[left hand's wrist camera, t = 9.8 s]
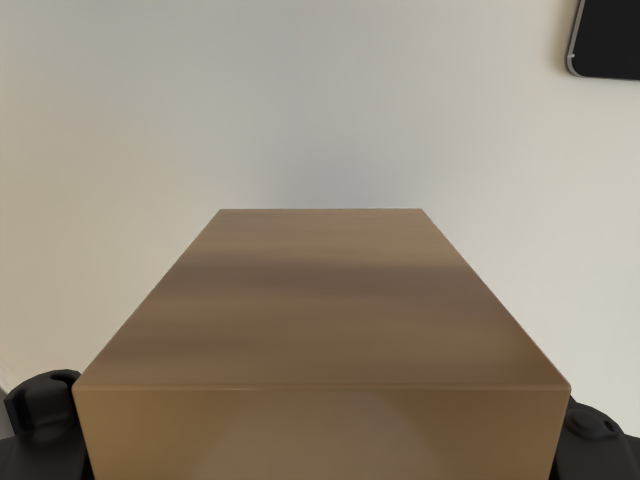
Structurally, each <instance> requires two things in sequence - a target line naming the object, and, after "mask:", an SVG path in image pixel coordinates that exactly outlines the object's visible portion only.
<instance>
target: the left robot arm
mask: <svg viewBox="0 0 640 480" xmlns="http://www.w3.org/2000/svg"><path fill="white" fill-rule="evenodd" d="M80 376H81V374H80V373H79V372H78V371H74V370H68V369H64V370H53V371H50V372H46V373H43V374H39V375H37V376H35V377H33V378H30V379H28V380H26V381H24V382H22V383H21V384H20V385H18V386H17V387H16V388H14V389H13V390H12V391H11V392H10V393H9V394H8V395H7V397H6V398H5V399H4V403H5V406H6V409H7V412H8V415H9V418H10V421H11V424H12V427H13V430H14V433H15V436H13V437H10V438H6V439H2V440H0V480H95V478H94V474H93V470H92V466H91V462H90V459H89V455H88V451H87V447H86V443H85V440H84V436H83V432H82V428H81V424H80V420H79V417H78V413H77V409H76V405H75V401H74V398H73V394H72V386H73V384H74V383H75V382H76V380H77V379H78V378H79V377H80ZM548 480H640V438H637V437H633V436H630V435H626V434H624V432H623V431H622V430H621V428H620V427H619V425H618V424H617V423H616V422H614V421H613V420H612V419H611V418H610V417H608V416H607V415H606V414H604V413H602V412H600V411H598V410H597V409H595V408H593V407H590V406H587V405H584V404H581V403H577V402H576V401H575V400H574V399H573V397H572V396H571V395H570V397H569V401H568V405H567V409H566V413H565V417H564V420H563V424H562V428H561V432H560V436H559V440H558V444H557V447H556V451H555V455H554V459H553V463H552V467H551V471H550V475H549V478H548Z"/></svg>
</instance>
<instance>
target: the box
mask: <svg viewBox="0 0 640 480" xmlns="http://www.w3.org/2000/svg"><path fill="white" fill-rule="evenodd" d="M570 393H571V385H570V383H569V382H568V381H567V380H566V379H565V378H564V376H563V375H562V374H561V373H560V372H559V370H558V369H557V368H556V367H555V366H554V365H553V363H552V362H551V361H550V360H549V359H548V357H547V356H546V355H545V354H544V353H543V352H542V350H541V349H540V348H539V347H538V346H537V344H536V343H535V342H534V341H533V340H532V339H531V337H530V336H529V335H528V334H527V333H526V331H525V330H524V329H523V328H522V327H521V326H520V324H519V323H518V322H517V321H516V320H515V318H514V317H513V316H512V315H511V314H510V313H509V311H508V310H507V309H506V308H505V307H504V306H503V304H502V303H501V302H500V301H499V300H498V298H497V297H496V296H495V295H494V294H493V293H492V291H491V290H490V289H489V288H488V287H487V285H486V284H485V283H484V282H483V281H482V280H481V278H480V277H479V276H478V275H477V274H476V272H475V271H474V270H473V269H472V268H471V267H470V265H469V264H468V263H467V262H466V261H465V259H464V258H463V257H462V256H461V255H460V254H459V252H458V251H457V250H456V249H455V248H454V246H453V245H452V244H451V243H450V242H449V241H448V239H447V238H446V237H445V236H444V235H443V234H442V232H441V231H440V230H439V229H438V228H437V226H436V225H435V224H434V223H433V222H432V221H431V219H430V218H429V217H428V216H427V215H426V213H425V212H424V211H423V210H422V209H220V210H219V211H218V212H217V214H216V215H215V216H214V217H213V218H212V220H211V221H210V222H209V223H208V224H207V226H206V227H205V228H204V229H203V230H202V232H201V233H200V234H199V235H198V236H197V237H196V239H195V240H194V241H193V242H192V243H191V245H190V246H189V247H188V248H187V249H186V251H185V252H184V253H183V254H182V255H181V257H180V258H179V259H178V260H177V261H176V262H175V264H174V265H173V266H172V267H171V268H170V270H169V271H168V272H167V273H166V274H165V276H164V277H163V278H162V279H161V280H160V282H159V283H158V284H157V285H156V286H155V288H154V289H153V290H152V291H151V292H150V293H149V295H148V296H147V297H146V298H145V299H144V301H143V302H142V303H141V304H140V305H139V307H138V308H137V309H136V310H135V311H134V313H133V314H132V315H131V316H130V317H129V318H128V320H127V321H126V322H125V323H124V324H123V326H122V327H121V328H120V329H119V330H118V332H117V333H116V334H115V335H114V336H113V338H112V339H111V340H110V341H109V342H108V344H107V345H106V346H105V347H104V348H103V349H102V351H101V352H100V353H99V354H98V355H97V357H96V358H95V359H94V360H93V361H92V363H91V364H90V365H89V366H88V367H87V369H86V370H85V371H84V372H83V373H82V374H81V376H80V377H79V378H78V379H77V380H76V382H75V383H74V384H73V386H72V394H73V398H74V401H75V405H76V409H77V413H78V417H79V420H80V424H81V428H82V432H83V436H84V440H85V443H86V447H87V451H88V455H89V459H90V462H91V466H92V470H93V474H94V478H95V480H548V478H549V475H550V471H551V467H552V463H553V459H554V455H555V451H556V447H557V444H558V440H559V436H560V432H561V428H562V424H563V420H564V417H565V413H566V409H567V405H568V401H569V397H570Z"/></svg>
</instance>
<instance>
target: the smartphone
mask: <svg viewBox="0 0 640 480" xmlns="http://www.w3.org/2000/svg"><path fill="white" fill-rule="evenodd" d="M567 65H568V68H569V70H570V72H571V73H572V74H574V75H575V76H578V77H586V78H601V79H616V80H631V81H640V0H581V2H580V6H579V10H578V14H577V18H576V22H575V26H574V31H573V35H572V39H571V43H570V47H569V51H568V55H567Z"/></svg>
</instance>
